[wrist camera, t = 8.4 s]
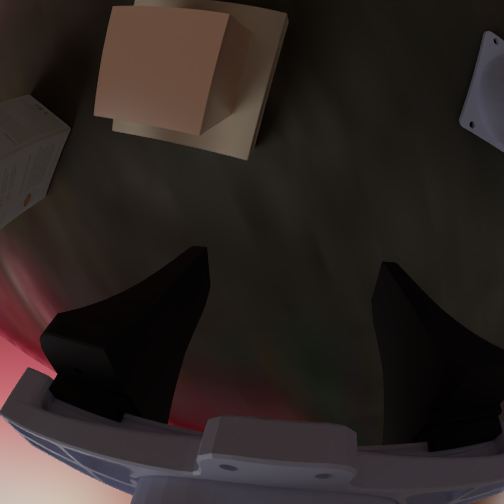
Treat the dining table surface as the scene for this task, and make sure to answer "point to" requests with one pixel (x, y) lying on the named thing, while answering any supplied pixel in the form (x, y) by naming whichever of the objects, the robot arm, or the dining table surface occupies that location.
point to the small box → (27, 153)
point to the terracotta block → (171, 67)
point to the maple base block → (249, 89)
